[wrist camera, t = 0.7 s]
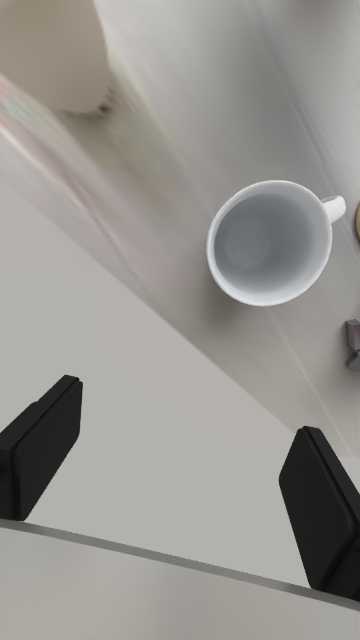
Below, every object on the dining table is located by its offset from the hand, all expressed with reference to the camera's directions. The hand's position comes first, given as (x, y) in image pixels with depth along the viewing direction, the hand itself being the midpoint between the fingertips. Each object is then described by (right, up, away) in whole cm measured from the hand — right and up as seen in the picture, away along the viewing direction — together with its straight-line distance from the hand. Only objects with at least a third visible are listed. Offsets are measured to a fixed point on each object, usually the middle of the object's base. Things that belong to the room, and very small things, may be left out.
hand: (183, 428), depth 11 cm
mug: (+10, +16, +24) cm, 30 cm away
